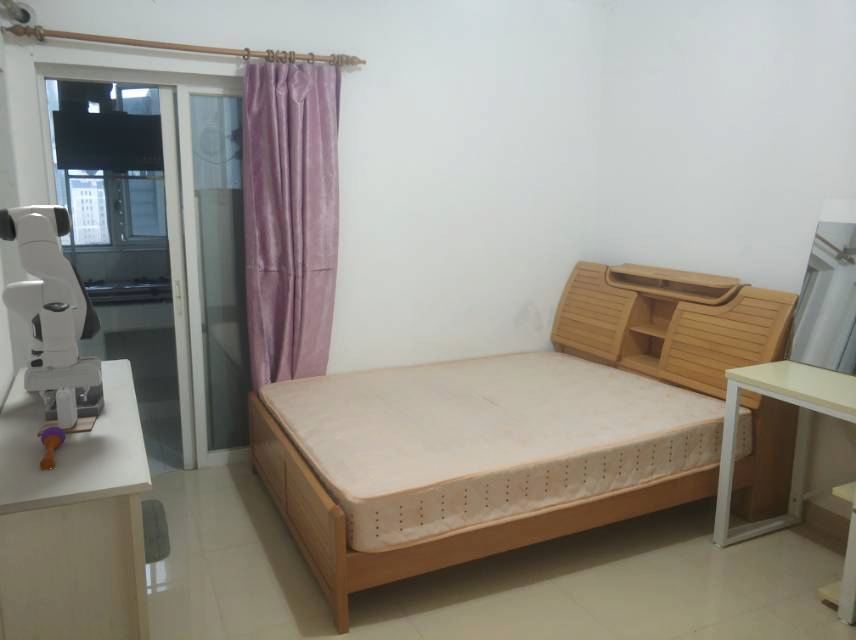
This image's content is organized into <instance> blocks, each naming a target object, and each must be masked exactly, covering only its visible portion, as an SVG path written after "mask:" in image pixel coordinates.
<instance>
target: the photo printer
mask: <svg viewBox="0 0 856 640" xmlns="http://www.w3.org/2000/svg"><path fill="white" fill-rule="evenodd" d="M56 405H57V409H56V410H57V415H58V424H59V428H61V429H69V428H71V427H73V426H74V424H75V423H76V421H77V408H78V407H77V406H76V397H75V388H67V387H64V389H63V388H60V389H58V390H57V393H56Z"/></svg>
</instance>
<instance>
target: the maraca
mask: <svg viewBox="0 0 856 640" xmlns="http://www.w3.org/2000/svg"><path fill="white" fill-rule="evenodd" d="M66 438H67V436H66V434H65V432H64V430H63V429H61V428H59V427H49V428H47V429H45V430H44V431H43V433H42V435H41V436H40V442H41V443H42V446H44V448H46V451H45V453H44V455H43V457H42V459H41V460H40V462H39V468H40V469H41V470H43V469H48V470H51V469H50V468H52V469H54V468H55V465H56V464H55V463H56V462H55V451H54V450H55V449H56V450H57V448H59V447H61V446H62V445H64V443H65V441H66Z"/></svg>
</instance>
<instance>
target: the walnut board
mask: <svg viewBox="0 0 856 640" xmlns="http://www.w3.org/2000/svg"><path fill="white" fill-rule="evenodd" d="M97 418H98V416H97V415H96V416H86V417H77V421H76V423H75V424H74V426H73V427H71V428H69V429H63V430H64V432H65V433H66V434H75V433H74V432H76V433H82V432H83V433H85V432H92V430H93V427H94V425H95V423H96V420H97ZM49 427H59V424H58V419H54V420H46V419H45V421H44V423H43V424H42V426H41V428H40V429H39V431H38V432H37V434H36V436H37V437H41V435H42V433H43V431H44V430H45V429H47V428H49Z"/></svg>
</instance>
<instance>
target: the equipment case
mask: <svg viewBox="0 0 856 640" xmlns="http://www.w3.org/2000/svg"><path fill="white" fill-rule="evenodd" d="M99 359H100V360H101V361H102V359H101V358H99ZM100 371H101V376H102V377H103V372H102V367H101V368H100ZM103 384H104V383H103V381H102V382H101V384H100V385H99V386H92V387H90V389H89V391H88V393H87V394H86V398H87V400H86V401H80V396H81V395H82V394H84V393H85V391H86V390H84V389H83V387H79V388H75V397H76V407H77V405H79V406H86V405H87V406H86V407H77V417H86V416H96V415H97V417H99V416H100V413H101V411H102V408H103V406H104V403H105V395H104V385H103ZM57 390H58V389H55V390H52V391H53V400H51V404H48V407H47V408H46V410H45V412H44V413H45V414H44V415H45V421H46V420H54V419H58V415H57V405H56V393H57ZM88 405H89V406H88ZM90 405H95V406H90Z"/></svg>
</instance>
